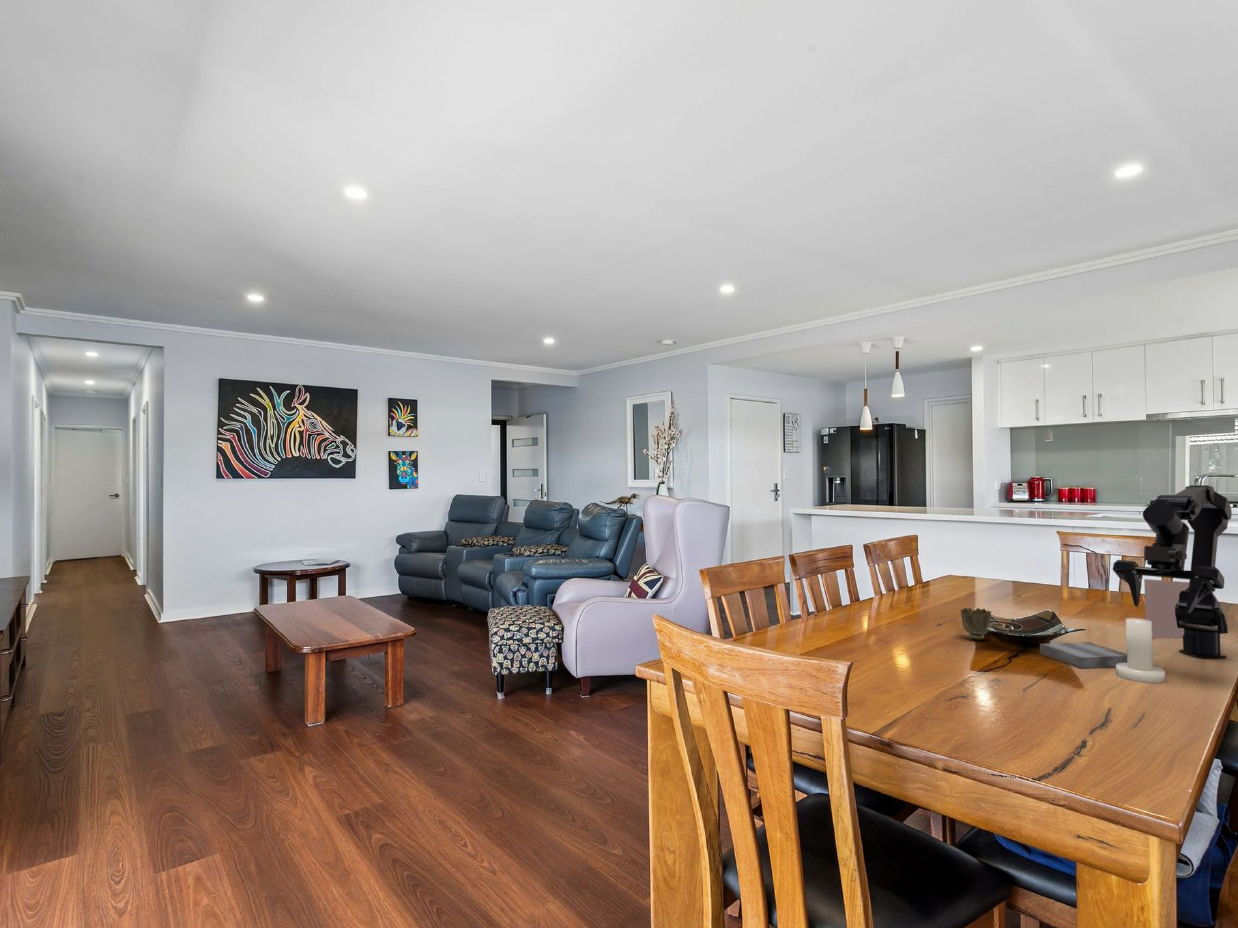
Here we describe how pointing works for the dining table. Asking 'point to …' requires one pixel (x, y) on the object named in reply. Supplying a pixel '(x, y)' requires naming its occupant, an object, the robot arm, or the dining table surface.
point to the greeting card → (1163, 607)
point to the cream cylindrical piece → (1139, 654)
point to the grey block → (1083, 654)
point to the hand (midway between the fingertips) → (1161, 609)
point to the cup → (976, 622)
